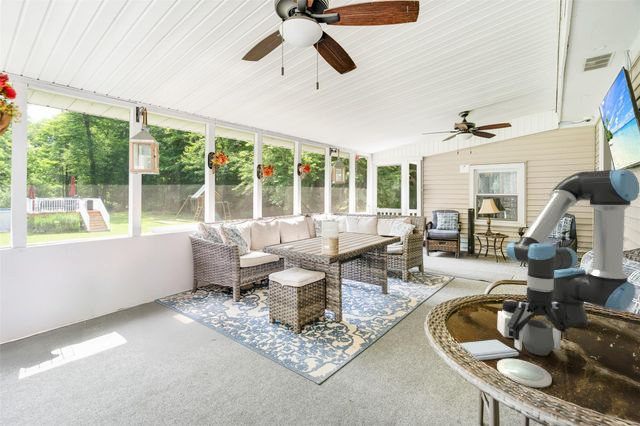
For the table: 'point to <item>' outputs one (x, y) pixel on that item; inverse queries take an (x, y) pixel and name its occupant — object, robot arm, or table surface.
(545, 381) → the saucer
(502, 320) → the container
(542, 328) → the cup
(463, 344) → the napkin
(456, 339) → the table surface
